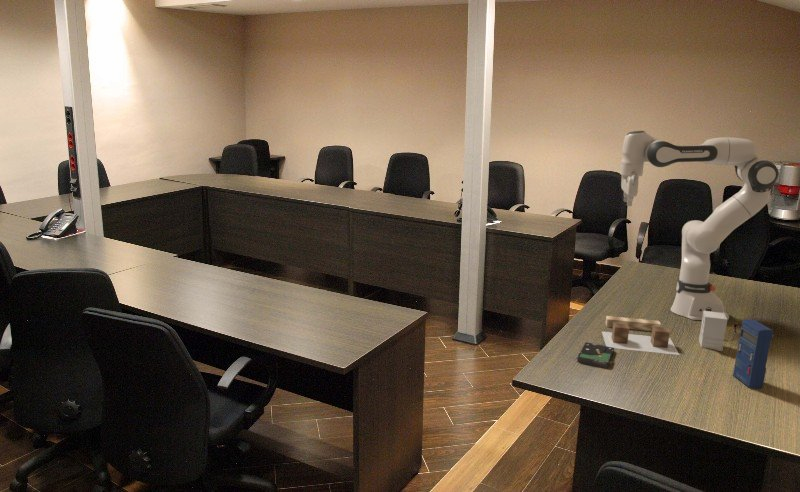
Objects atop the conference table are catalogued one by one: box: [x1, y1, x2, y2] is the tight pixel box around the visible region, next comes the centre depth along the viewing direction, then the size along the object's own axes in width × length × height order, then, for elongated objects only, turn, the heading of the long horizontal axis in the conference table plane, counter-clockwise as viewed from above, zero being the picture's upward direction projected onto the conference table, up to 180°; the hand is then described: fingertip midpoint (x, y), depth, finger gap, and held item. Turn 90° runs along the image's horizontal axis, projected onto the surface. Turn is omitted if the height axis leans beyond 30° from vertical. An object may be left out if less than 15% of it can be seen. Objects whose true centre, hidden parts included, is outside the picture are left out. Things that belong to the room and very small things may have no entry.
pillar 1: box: [611, 323, 630, 344], centre depth 235 cm, size 5×5×6 cm
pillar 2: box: [651, 326, 671, 348], centre depth 232 cm, size 5×5×6 cm
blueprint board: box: [601, 331, 680, 356], centre depth 234 cm, size 25×16×1 cm, turn 79°
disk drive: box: [577, 341, 615, 369], centre depth 221 cm, size 10×3×15 cm
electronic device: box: [732, 318, 774, 390], centre depth 204 cm, size 10×5×20 cm, turn 5°
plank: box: [605, 315, 662, 332], centre depth 249 cm, size 20×4×4 cm, turn 79°
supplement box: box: [698, 311, 728, 352], centre depth 233 cm, size 7×7×13 cm
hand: (627, 203), depth 263 cm, fingers open, 8 cm apart
